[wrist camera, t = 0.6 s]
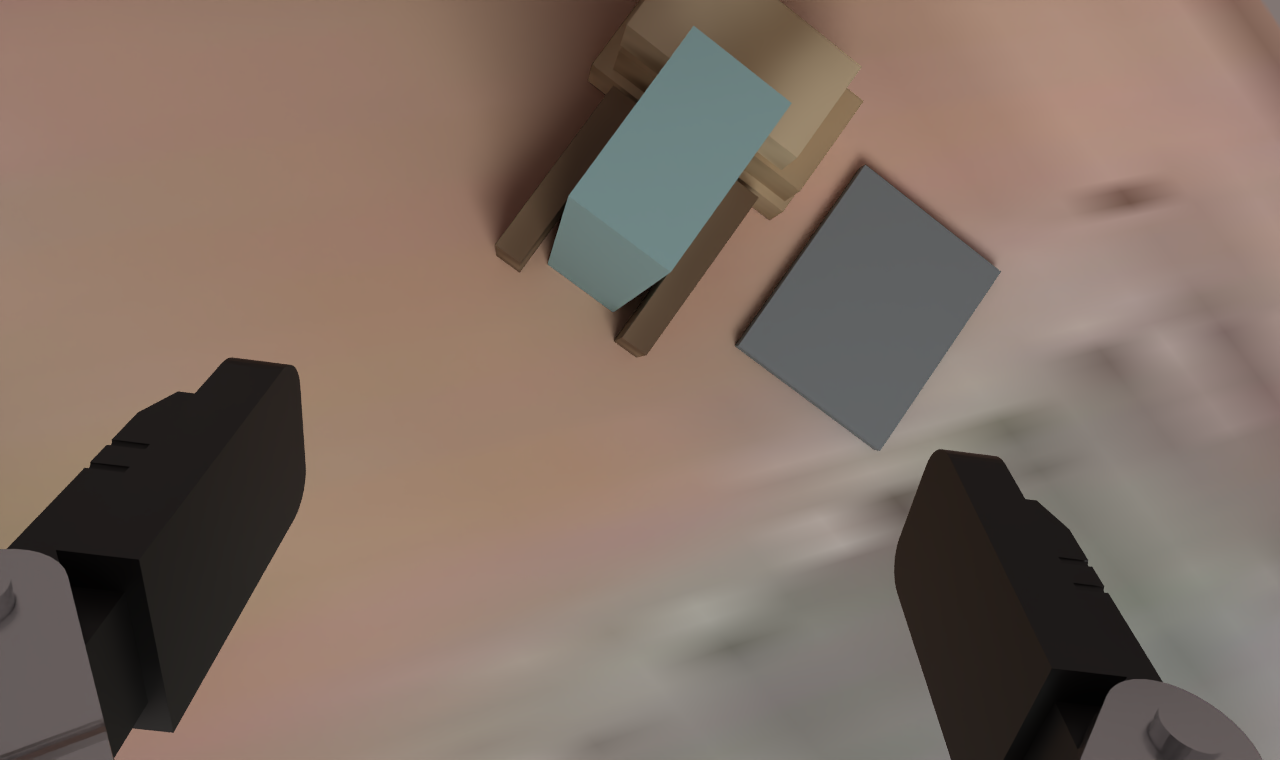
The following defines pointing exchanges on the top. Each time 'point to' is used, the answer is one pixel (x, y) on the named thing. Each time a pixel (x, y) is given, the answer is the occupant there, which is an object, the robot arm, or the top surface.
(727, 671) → the top surface
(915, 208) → the slate mat
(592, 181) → the pale teal pillar
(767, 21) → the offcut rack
